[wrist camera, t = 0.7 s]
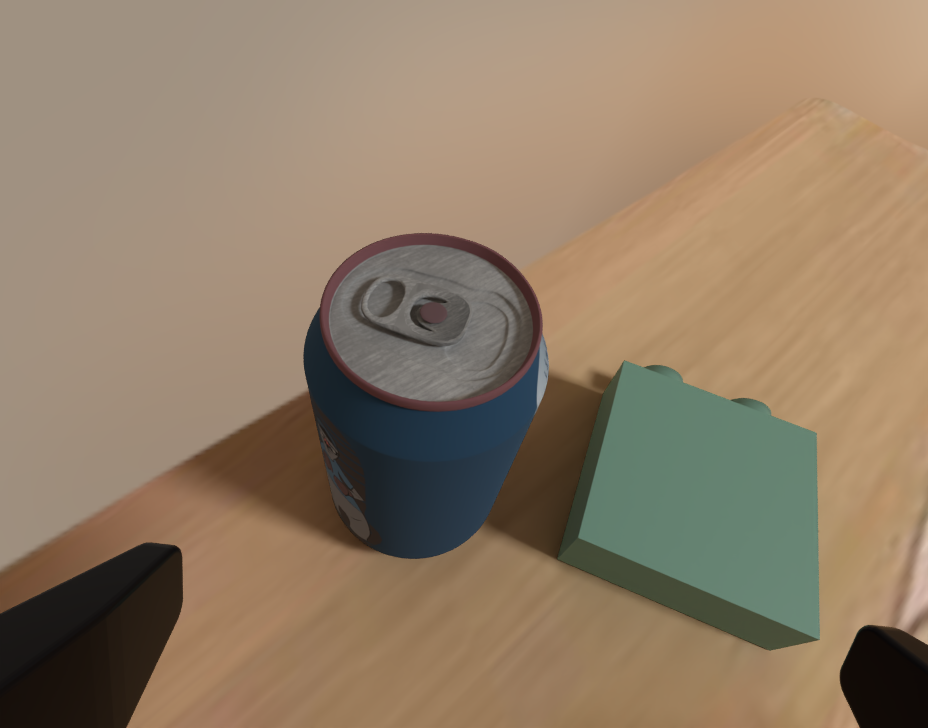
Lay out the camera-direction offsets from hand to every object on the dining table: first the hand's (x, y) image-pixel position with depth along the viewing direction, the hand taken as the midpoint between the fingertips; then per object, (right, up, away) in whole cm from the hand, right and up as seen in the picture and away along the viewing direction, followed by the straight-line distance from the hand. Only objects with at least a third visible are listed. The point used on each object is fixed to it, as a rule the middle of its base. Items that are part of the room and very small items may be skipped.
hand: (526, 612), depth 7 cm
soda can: (-3, -2, +17) cm, 17 cm away
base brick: (+9, -3, +17) cm, 20 cm away
